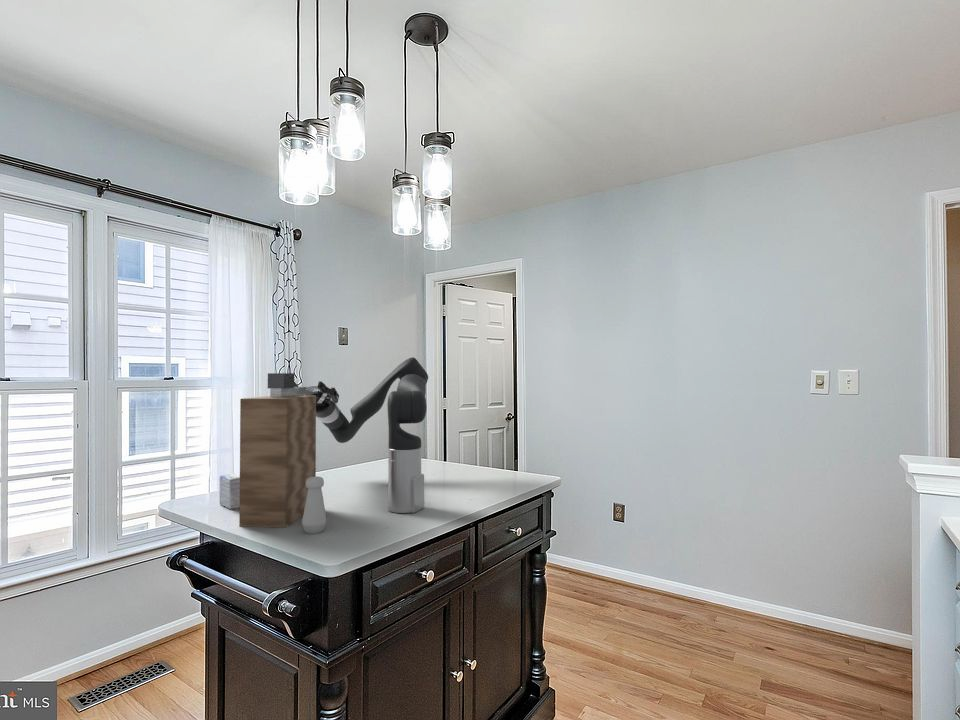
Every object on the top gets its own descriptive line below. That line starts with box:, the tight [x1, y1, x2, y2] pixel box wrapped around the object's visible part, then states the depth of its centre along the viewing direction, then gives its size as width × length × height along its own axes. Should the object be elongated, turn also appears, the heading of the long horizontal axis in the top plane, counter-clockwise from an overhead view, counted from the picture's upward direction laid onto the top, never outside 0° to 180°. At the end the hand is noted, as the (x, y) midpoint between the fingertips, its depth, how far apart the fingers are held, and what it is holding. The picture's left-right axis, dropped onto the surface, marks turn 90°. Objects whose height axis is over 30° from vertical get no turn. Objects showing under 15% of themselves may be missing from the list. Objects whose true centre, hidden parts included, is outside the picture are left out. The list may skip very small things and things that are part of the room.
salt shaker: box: [301, 476, 328, 535], centre depth 124 cm, size 6×6×13 cm
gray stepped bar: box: [267, 372, 320, 398], centre depth 147 cm, size 24×4×6 cm, turn 174°
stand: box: [238, 395, 317, 528], centre depth 137 cm, size 18×12×32 cm, turn 174°
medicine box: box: [219, 473, 240, 510], centre depth 148 cm, size 8×4×9 cm, turn 47°
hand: (305, 384), depth 153 cm, fingers open, 8 cm apart
